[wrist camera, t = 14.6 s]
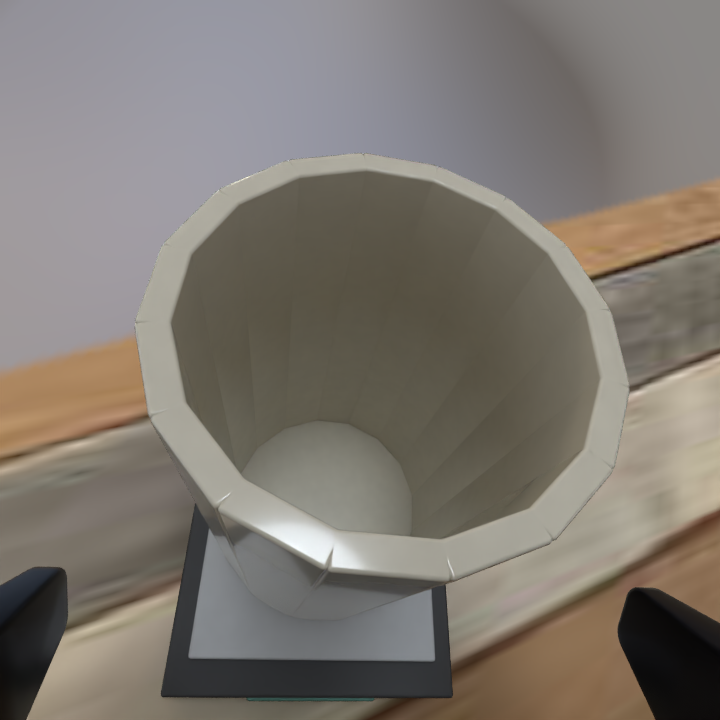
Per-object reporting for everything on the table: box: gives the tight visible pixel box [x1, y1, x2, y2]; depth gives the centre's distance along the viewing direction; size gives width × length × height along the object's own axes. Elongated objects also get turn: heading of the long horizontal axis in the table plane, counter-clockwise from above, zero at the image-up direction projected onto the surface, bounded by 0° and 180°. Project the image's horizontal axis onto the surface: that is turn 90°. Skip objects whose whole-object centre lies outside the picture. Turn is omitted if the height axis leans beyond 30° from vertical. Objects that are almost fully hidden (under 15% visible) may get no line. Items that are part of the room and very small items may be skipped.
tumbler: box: [135, 153, 630, 621], centre depth 12 cm, size 7×7×12 cm
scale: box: [161, 503, 453, 701], centre depth 18 cm, size 11×9×3 cm
